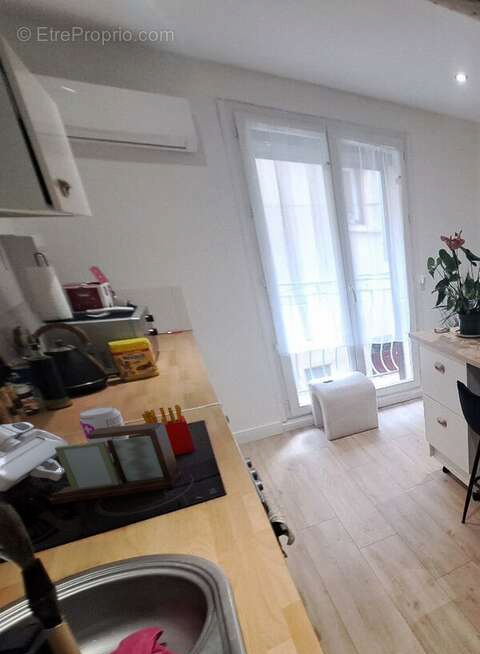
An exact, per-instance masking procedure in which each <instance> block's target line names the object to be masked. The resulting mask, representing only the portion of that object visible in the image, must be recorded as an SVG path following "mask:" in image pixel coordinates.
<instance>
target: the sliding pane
mask: <svg viewBox="0 0 480 654" xmlns="http://www.w3.org/2000/svg"><path fill="white" fill-rule="evenodd" d="M55 450H56V453H57V455H58V456H57V457H58V460H59V461H60V465H61V467H62V468H63V469H64V471H65V473H66V475H65V476H66V478H67V480H68V483H69V485H70V486H71V487H72V490H73V491H74V490H82V489H89V488H97V487H104V486H111V485H119V484H121V482H120V480H121V478H120V476H119V473H118V470H117V468H116V465H115V463H114V462H113V461H112V458H111V456H110V453H109V450H108V448H107V445H106V443H105V441H104V442H95V443H88V442H86V443H76V444H68V445H67V446H57V447H56V448H55Z"/></svg>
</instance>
